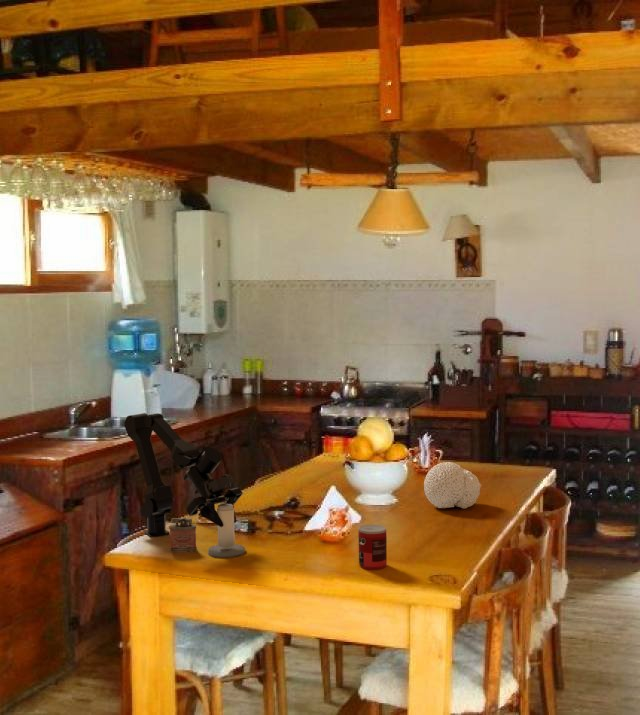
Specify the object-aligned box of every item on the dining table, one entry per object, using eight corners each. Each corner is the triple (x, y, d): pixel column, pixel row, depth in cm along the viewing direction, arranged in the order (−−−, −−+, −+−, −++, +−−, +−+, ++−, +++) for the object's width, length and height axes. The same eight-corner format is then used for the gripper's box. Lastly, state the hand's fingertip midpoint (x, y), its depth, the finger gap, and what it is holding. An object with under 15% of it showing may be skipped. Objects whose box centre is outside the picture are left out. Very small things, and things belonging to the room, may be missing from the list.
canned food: (362, 560, 281) (361, 523, 280) (389, 562, 279) (389, 525, 278) (355, 568, 274) (355, 530, 273) (383, 571, 272) (383, 532, 271)
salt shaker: (217, 543, 294) (216, 504, 292) (234, 542, 294) (233, 503, 293) (218, 547, 289) (217, 508, 287) (235, 547, 289) (234, 507, 288)
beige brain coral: (438, 492, 326) (444, 449, 335) (410, 506, 340) (416, 465, 348) (487, 512, 332) (491, 469, 341) (457, 526, 346) (462, 484, 355)
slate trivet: (202, 550, 294) (202, 547, 293) (235, 544, 299) (235, 541, 299) (217, 560, 284) (217, 556, 284) (251, 553, 290) (251, 550, 290)
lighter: (197, 548, 296) (196, 516, 295) (196, 551, 293) (195, 518, 292) (170, 548, 296) (169, 516, 295) (169, 552, 293) (168, 519, 292)
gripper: (191, 472, 285) (218, 515, 279) (237, 461, 299) (264, 502, 293) (174, 494, 291) (200, 537, 285) (220, 483, 305) (246, 523, 299)
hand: (229, 524), depth 290 cm, fingers closed on salt shaker, 5 cm apart
